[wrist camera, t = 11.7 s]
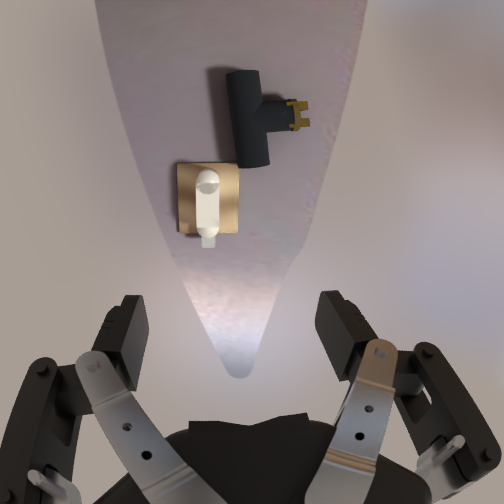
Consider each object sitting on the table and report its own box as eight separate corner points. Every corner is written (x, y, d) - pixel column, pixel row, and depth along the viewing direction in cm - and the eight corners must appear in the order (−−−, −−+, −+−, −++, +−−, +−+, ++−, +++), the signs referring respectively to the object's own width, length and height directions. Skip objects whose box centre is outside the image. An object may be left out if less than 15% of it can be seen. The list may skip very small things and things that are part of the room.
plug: (197, 167, 43) (195, 171, 39) (219, 167, 43) (219, 171, 39) (198, 241, 48) (197, 251, 44) (218, 241, 48) (219, 251, 45)
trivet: (177, 163, 42) (177, 164, 42) (239, 162, 44) (239, 163, 43) (180, 232, 47) (179, 233, 47) (237, 231, 49) (237, 232, 48)
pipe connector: (304, 67, 34) (314, 161, 40) (295, 73, 38) (304, 157, 45) (225, 72, 33) (238, 170, 40) (225, 78, 38) (236, 165, 44)
